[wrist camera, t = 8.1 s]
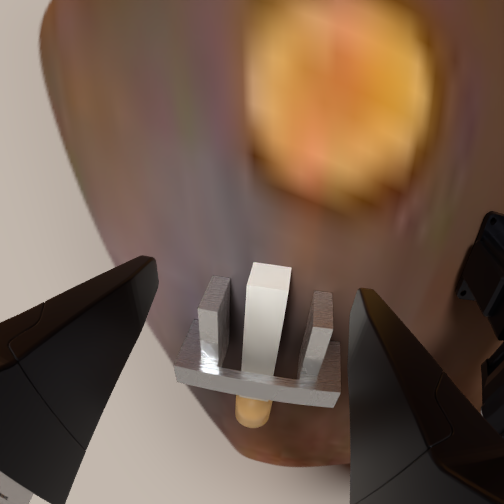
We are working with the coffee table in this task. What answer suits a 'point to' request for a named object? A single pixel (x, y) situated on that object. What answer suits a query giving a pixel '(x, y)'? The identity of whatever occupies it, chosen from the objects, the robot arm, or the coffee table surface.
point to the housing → (251, 384)
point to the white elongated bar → (262, 334)
